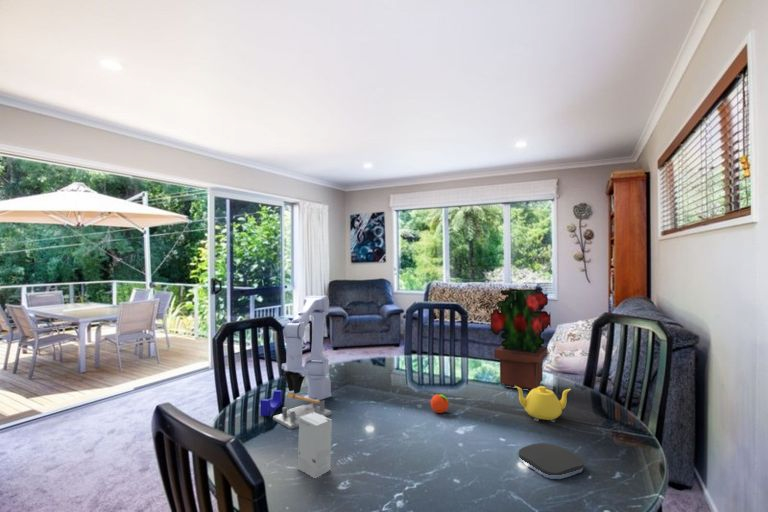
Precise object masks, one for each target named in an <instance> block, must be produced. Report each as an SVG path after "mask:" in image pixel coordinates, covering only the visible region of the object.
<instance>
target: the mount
mask: <svg viewBox="0 0 768 512" xmlns="http://www.w3.org/2000/svg"><path fill="white" fill-rule="evenodd" d="M313 399H314V400H315V399H317V397H315V398H313ZM325 403H326V402H325V399H322V400H320V405H319V404H317V403H313V402H311V403H310V404H301V405H299V406H295V407H293V408H289V409H288V407H286V406H284V407H282V410H281V411H282V413H280V414H276V415H273V416H272V420H273V421H275V422H276V423H278V424H281V425H282V426H284V427H286V428H288V429H289V430H292V429H295V428H297V427H298V428H299V417H301V416H304V415H307V414H310V413H313V412H315V413H318V414H320V415H323V416H325V417H327V416H330V415H332V411H331V410H329V409H327V408H325V407H326V406H325V405H326V404H325Z"/></svg>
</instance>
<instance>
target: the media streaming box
mask: <svg viewBox="0 0 768 512" xmlns="http://www.w3.org/2000/svg"><path fill="white" fill-rule="evenodd" d="M519 457H520V458H521V459H522V460H524V461H525V462H527V463H529V464H530V465H532V466H533V467H535V468H536V469H538V470H540V471H541V472H543V473H545V474H548V475H562V474H566V473H569V472H573V471H576V470H579V469H581V468H583V467H584V468H585V462H584V460H583V459H582V458H581V457H579V455H577V454H575V453H574V452H573V451H570V450H568V449H567V448H564V447H562V446H561V445H560V446H559V445H558V444H554V443H553V444H552V443H544V442H542V443H541V442H539V443H538V442H537V443H532V444H529V445H527V446H524V447H522V448H520V449H519V450H518V458H519Z"/></svg>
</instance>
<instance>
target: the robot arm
mask: <svg viewBox="0 0 768 512" xmlns="http://www.w3.org/2000/svg"><path fill="white" fill-rule="evenodd" d="M329 312H330V299H329V297H328V295H309V294H307V295H305V297H304V298H303V308H302V309H301V311H298V312H297V313H296V314H295V316H294V317H293V318H292V320H291V321H290V322H288V323H287V324H285V325H284V328H283V332H282V333H283V337H284V343H285V344H286V349H285V350H286V352H285V353H286V358H285V359H286V362H285V363H282V364H281V370H283V372H282V375H283V378H285V381H286V384H287V388H288V391H289V392H293V394H295V395H297V394H300V393H301V389H302V385H303V382H304V380H305V378H306V379H307V395H304V396H303V397H305V398H310V399H313V398H315V397H317V400H320V401H323V400H325V399H328V398H331V397H332V393H331V391H332V390H331V388H332V387H331V386H332V385H331V383H332V382H331V378H330V376H329V375H328V374H329V371H330V370H329V369H330V364H329V358H328V357H327V356H326V355H324V354H323V350H324V349H323V348H324V347H323V346H324V337H325V336H324V334H325V319H326V316H327V315H329ZM310 316H312V317H313V318H312V321H313V322H312V333H311V334H312V335H311V337H312V338H311V351H310V354H309V355H308V356H306V357H305V359H304V364H303V338H304V336H305V333H306V332H305V331H306V327H307V325H308V324H309V322H310V321H311V320H310V319H311V318H310Z"/></svg>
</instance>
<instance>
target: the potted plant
mask: <svg viewBox="0 0 768 512" xmlns="http://www.w3.org/2000/svg"><path fill="white" fill-rule="evenodd" d="M543 290H544V289H543V288H540V289H539V288H537V289H536V288H535V289H518V288H508V289H501V290H500V294H501V295H502V296H506V297H505V298H504V300H498V301H497V303H496V306H497V307H498V308H500V310H499V309H497V308H495V309H494V310H493V311H492V313H490V314H489V315H490V332H493V334H494V335H495V336H498V335H500V336H501V339H502V341H501V342H500V344H501V345H499V346H498V347H497V348H495V349H494V356H493V357H494V359H495V360H496V359H498V360H499V384H502V385H505V387H506V386H511V387H515V386H517V387H520V388H522V389H528V390H532V389H534V388H537V387H539V386H540V384H541V383H542V381H543V379H544V378H543V374H544V373H543V372H544V371H543V361H544V359H546V357H547V356H548V346H545V345H543V344H545V339H544V338H542V335H543V333H544V332H545V330H546V329H548V327H549V328H552V327H551V325H552V324H551V312H549V313H548V312H547V311H546V310H544V308H545V306H547V305H548V303H549V300H548V299H549V298H548V296H547V295H545V294H544V292H542V291H543ZM539 310H540V311H539ZM500 332H502V333H501V334H500ZM494 335H493V336H494ZM503 339H504V340H503Z"/></svg>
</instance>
